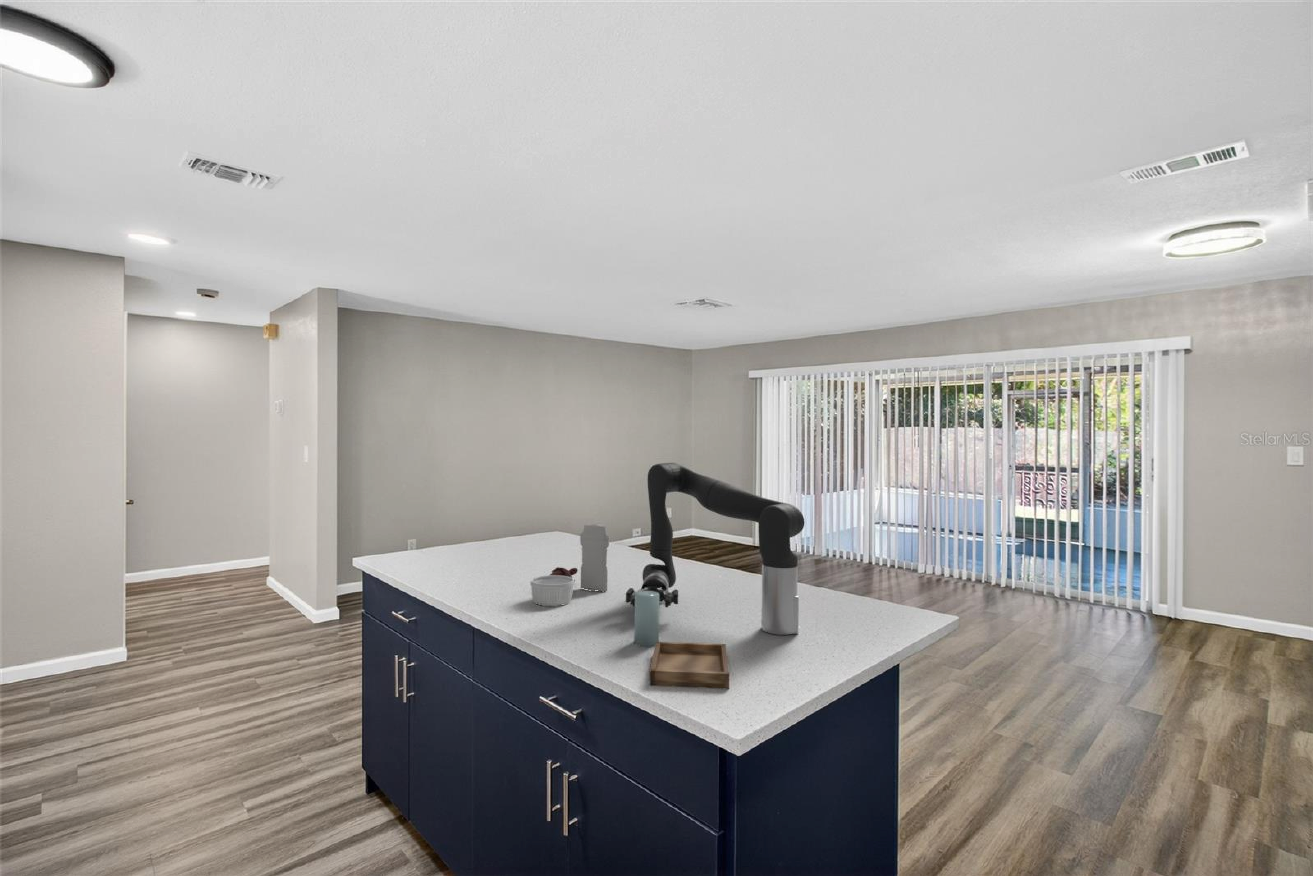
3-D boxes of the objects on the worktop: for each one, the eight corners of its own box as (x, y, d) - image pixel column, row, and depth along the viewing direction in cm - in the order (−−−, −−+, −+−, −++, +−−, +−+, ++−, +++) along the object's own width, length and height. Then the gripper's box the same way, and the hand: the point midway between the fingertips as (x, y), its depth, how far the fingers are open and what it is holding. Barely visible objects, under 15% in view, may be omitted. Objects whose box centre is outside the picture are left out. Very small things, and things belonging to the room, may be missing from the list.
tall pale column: (611, 590, 201) (611, 523, 201) (605, 593, 197) (606, 525, 197) (582, 587, 205) (583, 522, 205) (576, 590, 201) (577, 523, 201)
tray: (725, 657, 140) (725, 644, 140) (729, 688, 122) (729, 674, 122) (656, 654, 141) (656, 641, 141) (649, 685, 123) (650, 670, 123)
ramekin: (558, 594, 195) (559, 572, 195) (582, 603, 185) (583, 580, 185) (522, 601, 186) (522, 578, 186) (545, 610, 176) (545, 586, 176)
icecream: (553, 573, 196) (585, 570, 208) (538, 565, 200) (571, 562, 212) (548, 594, 196) (580, 589, 208) (533, 584, 201) (566, 581, 213)
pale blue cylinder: (659, 639, 152) (660, 591, 152) (657, 647, 146) (658, 597, 146) (635, 638, 153) (636, 590, 153) (633, 646, 147) (633, 596, 147)
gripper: (630, 574, 176) (623, 588, 160) (679, 576, 175) (677, 589, 159) (630, 600, 176) (623, 616, 160) (679, 602, 175) (677, 618, 159)
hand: (650, 603), depth 159 cm, fingers open, 8 cm apart
